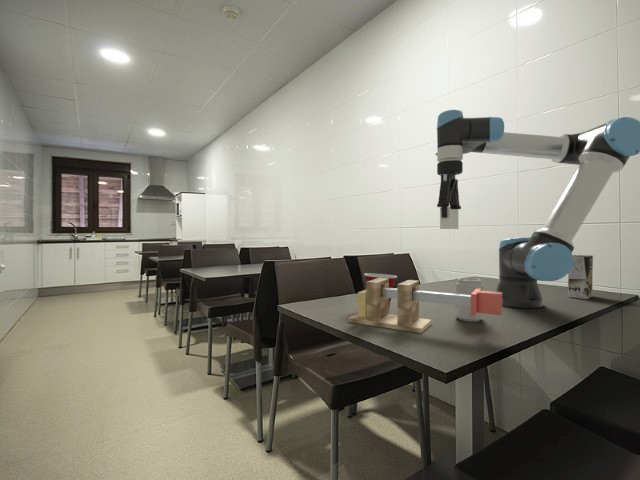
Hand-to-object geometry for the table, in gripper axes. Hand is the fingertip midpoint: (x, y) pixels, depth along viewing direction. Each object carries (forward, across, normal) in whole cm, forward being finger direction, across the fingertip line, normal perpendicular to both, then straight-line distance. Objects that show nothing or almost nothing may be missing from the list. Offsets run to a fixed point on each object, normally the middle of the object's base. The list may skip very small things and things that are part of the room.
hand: (449, 229), depth 109 cm
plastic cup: (+27, +8, -20) cm, 35 cm away
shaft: (+21, +22, +1) cm, 30 cm away
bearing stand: (+26, +22, -12) cm, 36 cm away
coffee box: (+27, -52, +38) cm, 70 cm away
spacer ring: (+22, +22, -19) cm, 36 cm away
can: (+27, +6, +7) cm, 28 cm away
